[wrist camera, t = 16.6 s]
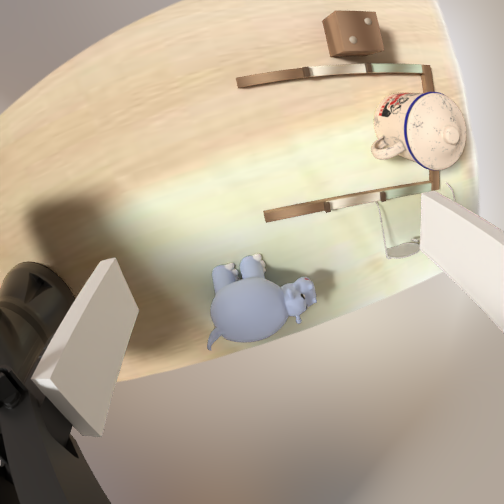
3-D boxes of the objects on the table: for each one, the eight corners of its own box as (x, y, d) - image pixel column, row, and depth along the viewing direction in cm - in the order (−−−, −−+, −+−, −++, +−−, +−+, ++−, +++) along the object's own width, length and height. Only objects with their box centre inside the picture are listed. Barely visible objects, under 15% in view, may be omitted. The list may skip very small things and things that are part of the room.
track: (265, 219, 40) (266, 224, 39) (236, 78, 32) (236, 77, 30) (435, 187, 40) (442, 190, 38) (425, 65, 32) (433, 65, 30)
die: (330, 56, 31) (344, 50, 27) (322, 21, 29) (335, 10, 25) (366, 55, 31) (385, 50, 27) (359, 20, 29) (376, 11, 24)
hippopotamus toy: (314, 300, 47) (331, 342, 38) (221, 328, 48) (221, 373, 39) (298, 239, 42) (316, 275, 33) (194, 272, 43) (187, 314, 34)
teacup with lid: (410, 81, 33) (465, 81, 22) (434, 139, 36) (489, 156, 26) (341, 117, 35) (384, 125, 24) (371, 177, 39) (417, 205, 28)
